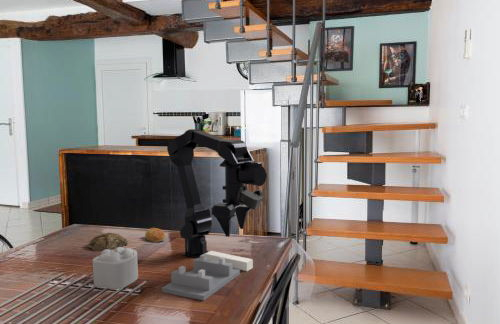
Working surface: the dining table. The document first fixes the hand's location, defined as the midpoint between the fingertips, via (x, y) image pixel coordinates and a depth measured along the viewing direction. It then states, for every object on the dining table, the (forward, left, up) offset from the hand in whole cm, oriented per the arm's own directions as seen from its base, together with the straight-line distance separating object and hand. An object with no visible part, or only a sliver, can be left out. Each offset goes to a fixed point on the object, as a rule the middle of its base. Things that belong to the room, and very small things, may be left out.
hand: (234, 232), depth 132 cm
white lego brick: (-26, -23, -11) cm, 36 cm away
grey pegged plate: (-2, -15, -11) cm, 19 cm away
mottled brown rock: (-52, 0, -11) cm, 54 cm away
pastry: (-41, +14, -11) cm, 45 cm away
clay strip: (-3, 0, -11) cm, 12 cm away
